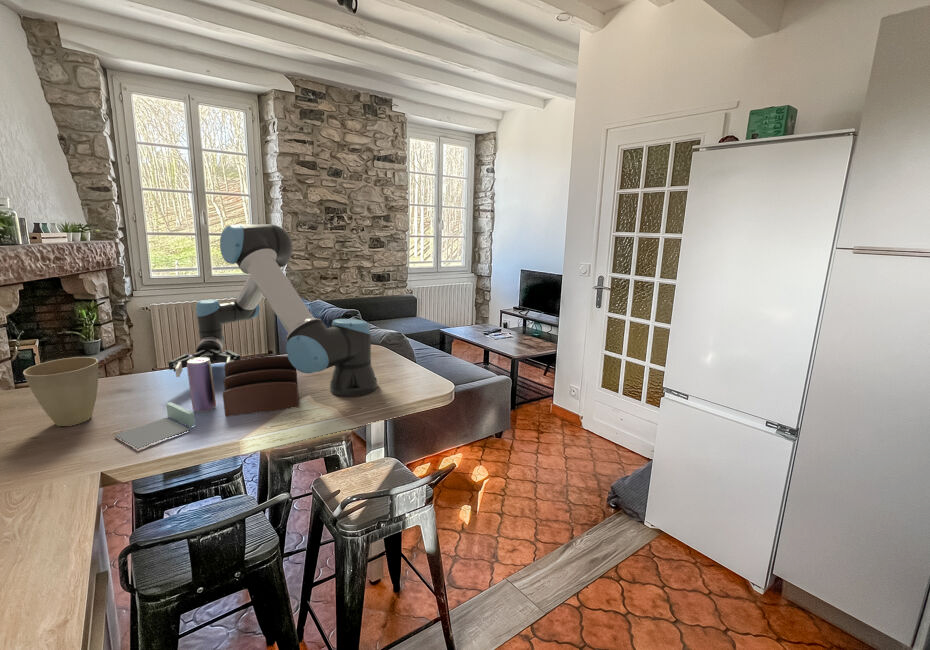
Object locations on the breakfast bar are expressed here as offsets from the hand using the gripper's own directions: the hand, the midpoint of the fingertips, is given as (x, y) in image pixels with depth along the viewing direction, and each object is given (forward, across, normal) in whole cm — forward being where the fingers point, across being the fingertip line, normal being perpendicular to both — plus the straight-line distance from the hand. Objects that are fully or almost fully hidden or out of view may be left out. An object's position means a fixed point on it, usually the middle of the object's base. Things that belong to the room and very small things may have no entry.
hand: (203, 370), depth 138 cm
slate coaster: (+23, +10, -8) cm, 26 cm away
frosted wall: (+17, +4, -9) cm, 19 cm away
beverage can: (+10, 0, -9) cm, 13 cm away
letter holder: (+14, -16, -9) cm, 23 cm away
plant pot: (+6, +31, -9) cm, 33 cm away
